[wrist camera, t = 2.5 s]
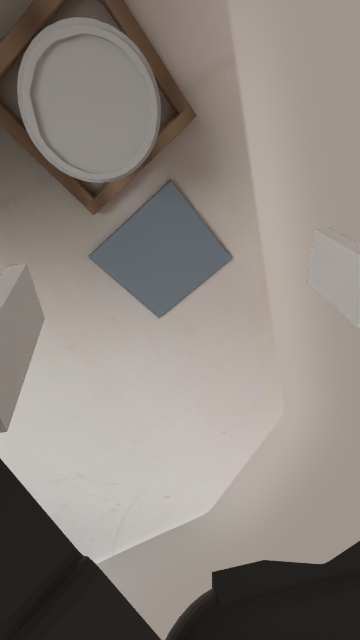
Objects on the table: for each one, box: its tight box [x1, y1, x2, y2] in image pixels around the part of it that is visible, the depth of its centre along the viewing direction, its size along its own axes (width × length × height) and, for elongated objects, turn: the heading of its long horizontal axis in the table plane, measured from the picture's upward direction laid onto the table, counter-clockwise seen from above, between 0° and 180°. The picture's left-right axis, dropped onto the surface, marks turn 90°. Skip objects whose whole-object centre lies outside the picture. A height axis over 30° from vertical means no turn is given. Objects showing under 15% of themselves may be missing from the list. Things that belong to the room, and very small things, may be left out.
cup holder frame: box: [0, 0, 196, 215], centre depth 31 cm, size 14×14×2 cm
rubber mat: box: [89, 180, 231, 318], centre depth 42 cm, size 13×13×1 cm
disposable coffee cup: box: [17, 17, 161, 183], centre depth 27 cm, size 10×10×12 cm
